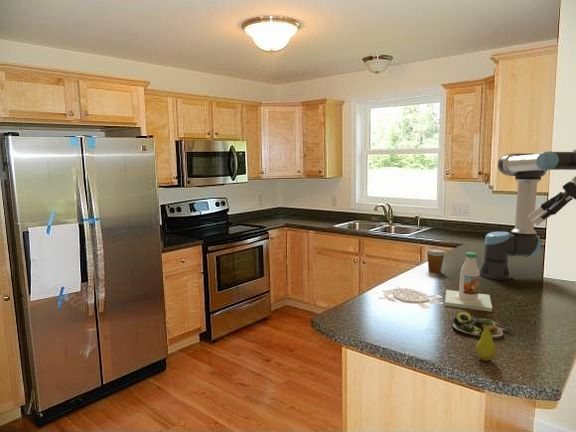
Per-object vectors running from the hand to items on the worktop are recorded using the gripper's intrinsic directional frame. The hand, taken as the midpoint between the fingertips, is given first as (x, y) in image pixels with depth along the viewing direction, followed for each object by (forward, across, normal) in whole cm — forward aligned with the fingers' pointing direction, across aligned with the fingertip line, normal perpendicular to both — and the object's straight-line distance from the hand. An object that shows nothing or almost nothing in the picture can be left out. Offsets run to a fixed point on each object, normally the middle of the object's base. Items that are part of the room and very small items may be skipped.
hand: (531, 221), depth 174 cm
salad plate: (+40, -42, -11) cm, 59 cm away
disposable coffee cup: (+53, +34, +3) cm, 63 cm away
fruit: (+38, -67, -12) cm, 78 cm away
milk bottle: (+40, -12, -8) cm, 43 cm away
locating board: (+41, -12, -9) cm, 44 cm away
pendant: (+58, -16, +7) cm, 61 cm away
